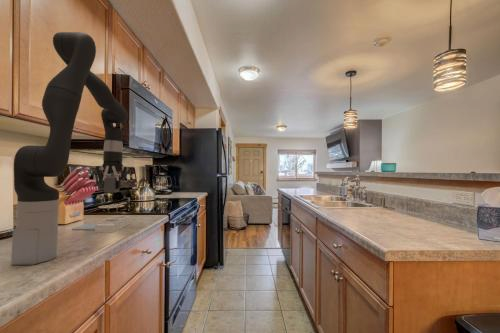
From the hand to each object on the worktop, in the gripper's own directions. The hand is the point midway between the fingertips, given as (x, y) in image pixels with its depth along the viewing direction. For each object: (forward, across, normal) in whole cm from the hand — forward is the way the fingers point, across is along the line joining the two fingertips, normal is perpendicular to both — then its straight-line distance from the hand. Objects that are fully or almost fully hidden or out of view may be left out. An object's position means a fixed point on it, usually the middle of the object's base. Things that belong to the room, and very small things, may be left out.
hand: (111, 189), depth 108 cm
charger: (+1, 0, 0) cm, 1 cm away
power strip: (+18, 0, +4) cm, 18 cm away
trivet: (+18, -10, +4) cm, 21 cm away
